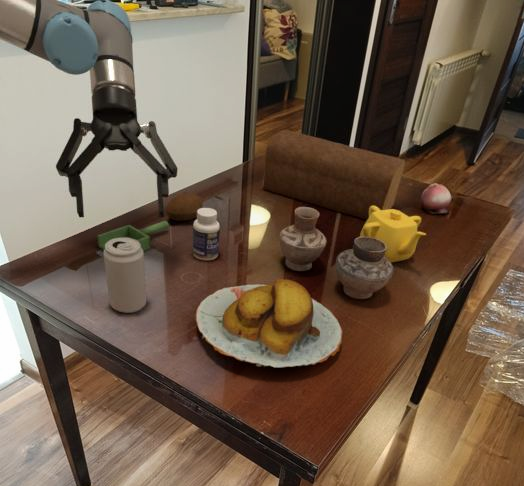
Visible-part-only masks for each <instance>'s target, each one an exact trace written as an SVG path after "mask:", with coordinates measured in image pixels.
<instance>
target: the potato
mask: <svg viewBox="0 0 524 486" xmlns="http://www.w3.org/2000/svg"><path fill="white" fill-rule="evenodd" d="M200 208H204V202H203V200H202V198H201V197H200V196H199V195H198V194H196V193H189V192H180V193H178V194H176V195H175V196H173V197H172V198H171V199H170V200H169V202H168V203H167V207H166V213H167V216H168V217H169V218H170V219H171V220H174V221H177V222H183V221H184V222H185V221H186V222H187V221H191V220H195V219H197V210H198V209H200Z"/></svg>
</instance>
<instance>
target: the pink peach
mask: <svg viewBox="0 0 524 486" xmlns="http://www.w3.org/2000/svg"><path fill="white" fill-rule="evenodd" d="M451 201H452V195H451V193H450V191H449V190H448V188H447V187H446V186H445V185H444V184H439V183H436V182H433V183H431V184H429V185H428V187H426V188H425V189H424V190H423V192H422V194H421V198H420V204H421V207H422V208H423V209H424V211H425V212H427V213H429V214H432V215H435V214H436V215H437V214H446V213H448V208H447V207H448V206H449V205H450V204H451Z"/></svg>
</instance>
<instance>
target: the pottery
mask: <svg viewBox="0 0 524 486" xmlns="http://www.w3.org/2000/svg"><path fill="white" fill-rule="evenodd" d="M319 217H320V212H319V211H318V210H317V209H315V208H313V207H307V206H298V207H296V208H295V209H294V224H292V225H289V226H287V227H284V228H283V229H282V230H281V231H280V232H279V233H278V238H279V239H278V240H279V245H280V249H281V252H282V254H283V256H284V258H285V262H284V263H285V264H284V265H285V266H286V267H287V268H288V269H290V270H292V271H296V272H306V271H309V270H311V268H312V267H313V262H314V261H316V260H317V259H318V258H319V257H320V256H321V254H322V253H323V251H324V250H325V248H326V245H327V241H328V240H327V238H326V236H325V235H324V233H322V232H321V231H320V230H319V229H318V228H317V227H316V224H317V222H318V219H319ZM353 240H354V241H353V245H352V248H350V249H346V250H344V251H341V252H340V253H338V255H337V256H336V259H335V273H336V275H337V277H338V280H339V282H340V283H341V284H342V286H343V288H342V290H343V292H344V294H345V295H347V296H348V297H350V298H352V299H355V300H356V299H357V300H364V299H365V300H366V299H368V298H371V297H372V296H373V293H375V292H377V291H379V290H381V289H382V288H383V287H385V286H386V285H387V284H388V283H389V281H390V280H391V278H392V276H393V275H394V271H395V270H394V269H395V268H394V266H393V264H392V262H390V261H389V260H388V259H387V258H385V257H384V255H385V252H386V249H387V246H386V244H385V243H384V242H383V241H381V240H379V239H376V238H372V237H360V236H358V237H356V238H354V239H353Z"/></svg>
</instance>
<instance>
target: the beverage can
mask: <svg viewBox="0 0 524 486" xmlns="http://www.w3.org/2000/svg"><path fill="white" fill-rule="evenodd" d="M144 257H145V256H144V251H143V250H142V248H141V245H140V243H139V242H138V241H137V240H135V239H132V238H125V237H121V238H115V239H112V240H110V241H108V242H107V243H106V244H105V250H103V261H104V270H105V277H106V286H107V292H108V294H107V295H108V300H109V301H108V302H109V306H110V307H111V308H112V309H114V310H115V311H117V312H120V313H124V314H132V313H136V312H138V311H140V310H141V309H143V308H144V307H145V306H146V304H147V288H146V274H145V273H146V271H145V258H144Z"/></svg>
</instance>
